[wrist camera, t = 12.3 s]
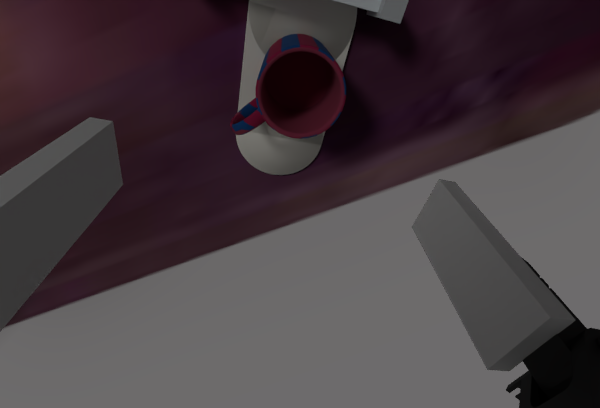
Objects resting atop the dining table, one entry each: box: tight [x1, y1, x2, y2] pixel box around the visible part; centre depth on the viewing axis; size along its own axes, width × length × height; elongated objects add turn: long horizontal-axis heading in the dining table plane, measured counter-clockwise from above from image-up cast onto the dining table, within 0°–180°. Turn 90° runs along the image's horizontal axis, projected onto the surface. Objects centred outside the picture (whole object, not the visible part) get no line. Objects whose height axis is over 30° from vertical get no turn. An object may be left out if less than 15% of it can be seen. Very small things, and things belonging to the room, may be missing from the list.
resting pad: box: [236, 0, 357, 175], centre depth 28 cm, size 20×9×1 cm, turn 167°
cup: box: [230, 34, 346, 139], centre depth 25 cm, size 7×10×7 cm
